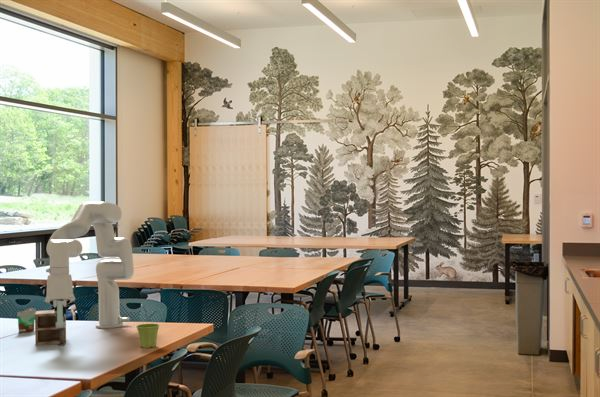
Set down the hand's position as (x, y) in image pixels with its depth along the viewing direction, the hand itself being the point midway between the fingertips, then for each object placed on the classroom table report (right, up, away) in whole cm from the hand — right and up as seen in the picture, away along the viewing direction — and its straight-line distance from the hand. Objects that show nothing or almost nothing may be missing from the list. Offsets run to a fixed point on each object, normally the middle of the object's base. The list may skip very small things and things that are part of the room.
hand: (60, 316), depth 316 cm
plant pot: (+36, -13, 0) cm, 38 cm away
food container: (-27, -14, +41) cm, 51 cm away
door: (0, -5, 0) cm, 5 cm away
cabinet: (-7, -13, +11) cm, 19 cm away
